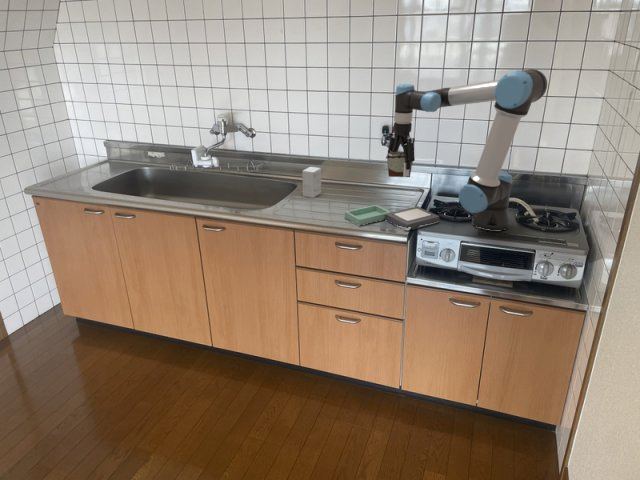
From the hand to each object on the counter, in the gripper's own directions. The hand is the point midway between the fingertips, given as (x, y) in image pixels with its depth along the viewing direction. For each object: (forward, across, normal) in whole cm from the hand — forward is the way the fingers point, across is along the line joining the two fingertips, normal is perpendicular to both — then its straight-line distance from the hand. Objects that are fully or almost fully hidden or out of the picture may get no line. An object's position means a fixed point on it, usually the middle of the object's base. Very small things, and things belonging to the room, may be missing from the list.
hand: (399, 173), depth 219 cm
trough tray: (+17, -2, +18) cm, 25 cm away
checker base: (+17, -15, +4) cm, 23 cm away
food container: (+1, +1, -1) cm, 2 cm away
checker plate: (+15, -15, +4) cm, 21 cm away
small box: (+17, +38, +23) cm, 48 cm away
